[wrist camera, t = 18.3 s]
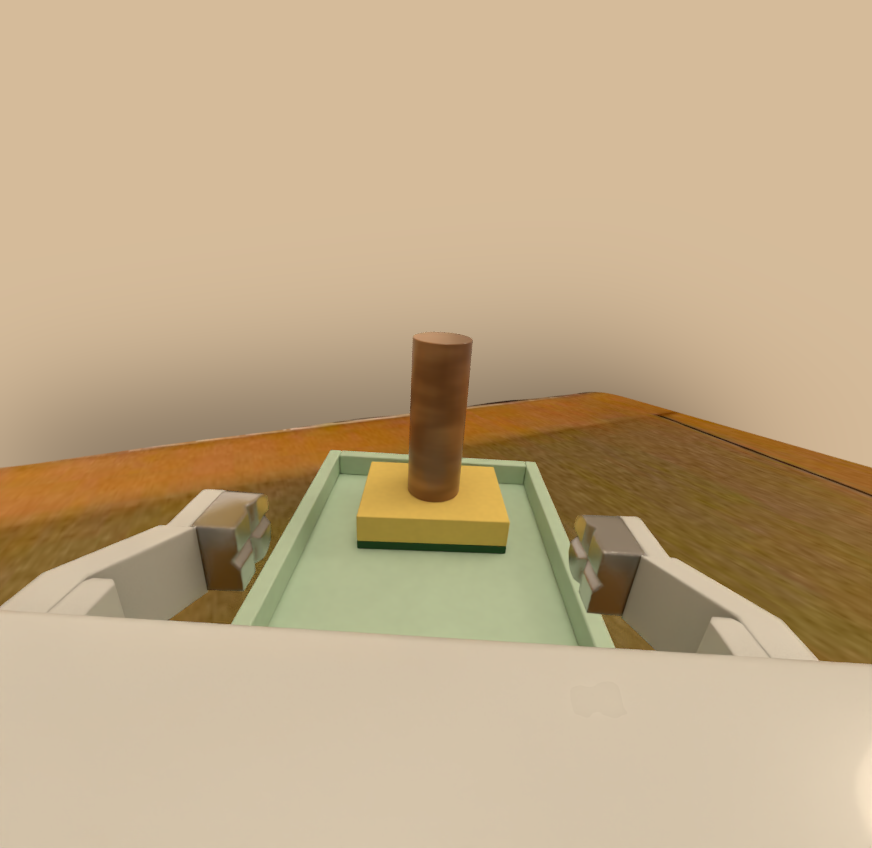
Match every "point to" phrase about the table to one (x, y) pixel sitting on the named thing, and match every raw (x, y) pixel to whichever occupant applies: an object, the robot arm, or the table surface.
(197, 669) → the robot arm
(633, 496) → the table surface
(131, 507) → the table surface
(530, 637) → the tray
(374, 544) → the brown cylinder on base
